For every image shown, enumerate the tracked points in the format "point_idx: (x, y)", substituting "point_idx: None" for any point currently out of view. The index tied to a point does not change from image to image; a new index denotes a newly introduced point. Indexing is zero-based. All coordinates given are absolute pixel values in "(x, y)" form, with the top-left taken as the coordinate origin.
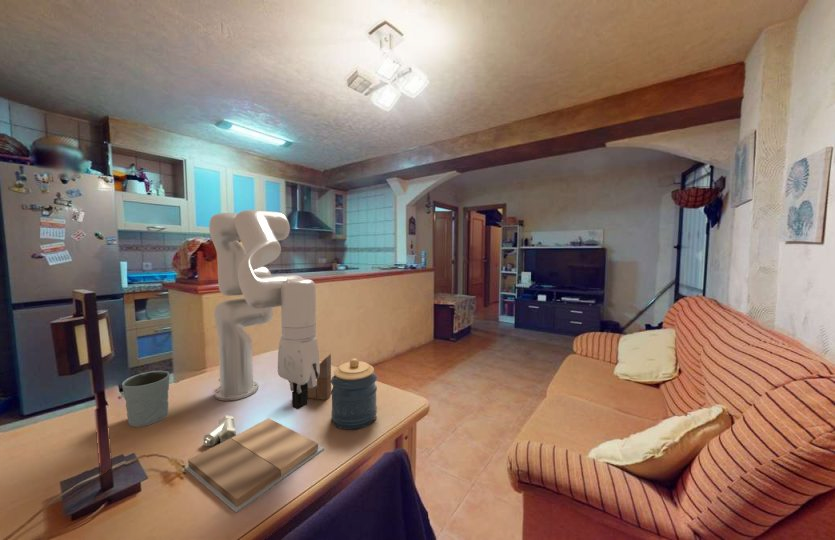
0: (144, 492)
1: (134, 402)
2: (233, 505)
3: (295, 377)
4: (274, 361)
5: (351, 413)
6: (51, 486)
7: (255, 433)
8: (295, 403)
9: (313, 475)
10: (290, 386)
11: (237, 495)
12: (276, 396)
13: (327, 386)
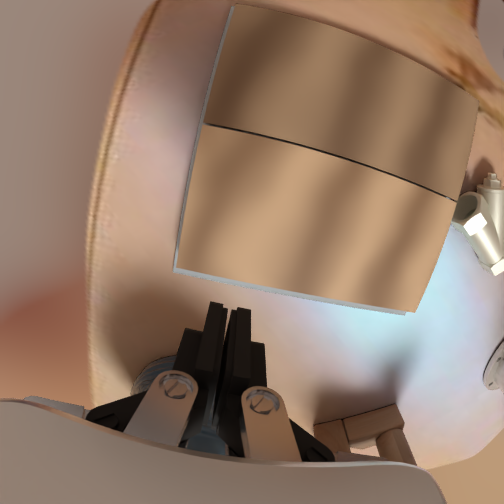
0: (469, 33)
1: None
2: None
3: (71, 485)
4: (477, 438)
5: None
6: None
7: (410, 242)
8: (216, 321)
9: (129, 172)
10: (281, 414)
11: (246, 11)
12: (440, 385)
13: None
